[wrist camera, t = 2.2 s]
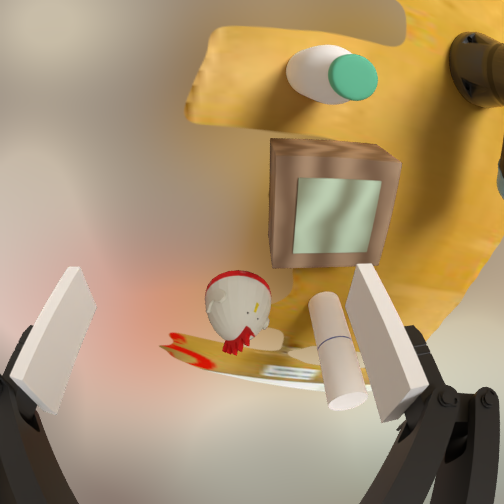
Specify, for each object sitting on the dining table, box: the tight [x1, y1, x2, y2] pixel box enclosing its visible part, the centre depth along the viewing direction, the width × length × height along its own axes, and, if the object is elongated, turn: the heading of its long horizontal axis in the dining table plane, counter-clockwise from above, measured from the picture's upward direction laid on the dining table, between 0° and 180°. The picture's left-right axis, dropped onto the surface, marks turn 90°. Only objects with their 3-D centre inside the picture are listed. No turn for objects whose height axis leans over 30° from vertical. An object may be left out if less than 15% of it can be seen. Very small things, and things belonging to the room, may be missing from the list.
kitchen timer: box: [205, 270, 271, 356], centre depth 57 cm, size 14×14×15 cm
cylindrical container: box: [308, 292, 368, 411], centre depth 55 cm, size 7×7×25 cm
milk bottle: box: [286, 45, 378, 104], centre depth 30 cm, size 8×8×20 cm
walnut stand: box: [268, 138, 402, 268], centre depth 45 cm, size 18×18×10 cm
